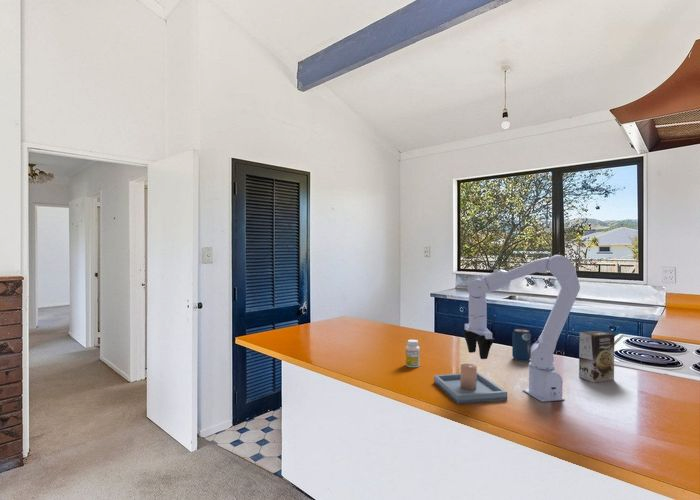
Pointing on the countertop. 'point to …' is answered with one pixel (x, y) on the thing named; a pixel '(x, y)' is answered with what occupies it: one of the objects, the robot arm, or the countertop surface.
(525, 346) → the soda can
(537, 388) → the robot arm
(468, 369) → the pillar candle
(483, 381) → the tray
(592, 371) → the coffee box
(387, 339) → the countertop surface
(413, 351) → the supplement bottle
